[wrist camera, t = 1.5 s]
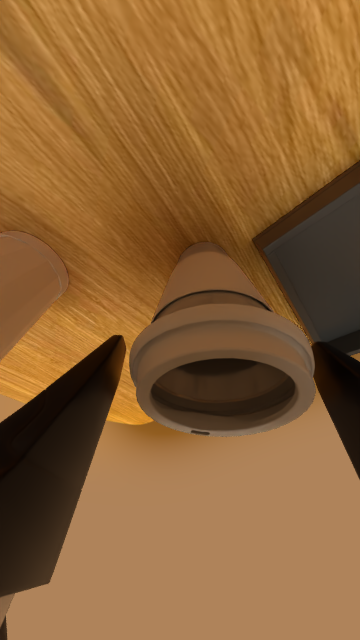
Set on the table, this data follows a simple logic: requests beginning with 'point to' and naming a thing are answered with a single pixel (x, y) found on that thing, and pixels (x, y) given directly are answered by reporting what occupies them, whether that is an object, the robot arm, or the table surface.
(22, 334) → the cup
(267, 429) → the cup
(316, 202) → the tray
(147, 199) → the table surface
